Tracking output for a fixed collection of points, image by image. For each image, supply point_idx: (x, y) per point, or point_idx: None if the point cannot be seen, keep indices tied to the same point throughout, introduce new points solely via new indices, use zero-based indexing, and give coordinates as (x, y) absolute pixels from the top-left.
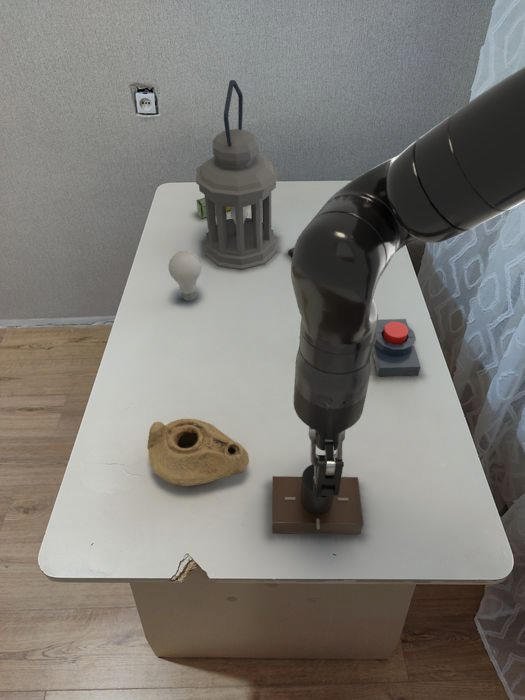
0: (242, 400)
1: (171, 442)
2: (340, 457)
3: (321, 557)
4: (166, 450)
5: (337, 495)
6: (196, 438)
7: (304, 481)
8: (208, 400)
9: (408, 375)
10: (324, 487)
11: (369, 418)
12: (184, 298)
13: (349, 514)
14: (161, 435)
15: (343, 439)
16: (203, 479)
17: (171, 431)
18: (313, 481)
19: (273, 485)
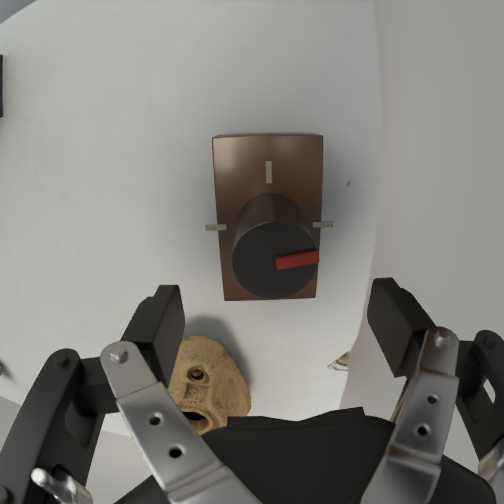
0: (86, 322)
1: (203, 432)
2: (453, 400)
3: (352, 205)
4: None
5: (498, 337)
6: None
7: (285, 294)
8: None
9: (1, 68)
10: (481, 385)
11: (69, 116)
12: (1, 371)
13: (302, 161)
14: None
15: (437, 469)
16: (244, 387)
17: None
18: (285, 275)
19: (243, 299)
